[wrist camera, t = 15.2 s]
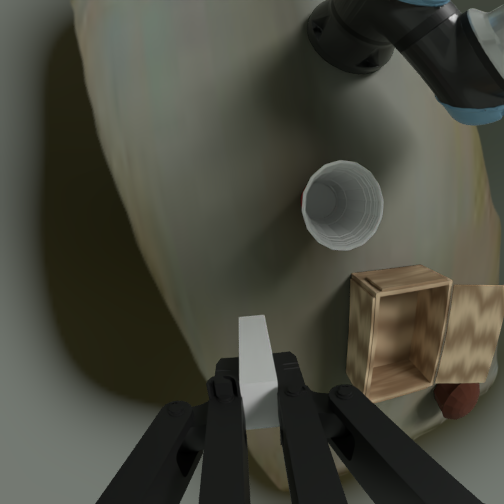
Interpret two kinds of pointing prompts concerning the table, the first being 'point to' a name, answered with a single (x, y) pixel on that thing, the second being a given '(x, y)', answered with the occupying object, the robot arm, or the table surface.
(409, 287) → the light wood open box
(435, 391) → the muffin
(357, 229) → the plastic cup
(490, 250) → the table surface
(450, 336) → the flap
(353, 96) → the table surface
